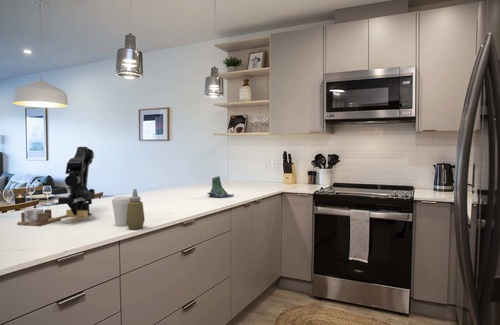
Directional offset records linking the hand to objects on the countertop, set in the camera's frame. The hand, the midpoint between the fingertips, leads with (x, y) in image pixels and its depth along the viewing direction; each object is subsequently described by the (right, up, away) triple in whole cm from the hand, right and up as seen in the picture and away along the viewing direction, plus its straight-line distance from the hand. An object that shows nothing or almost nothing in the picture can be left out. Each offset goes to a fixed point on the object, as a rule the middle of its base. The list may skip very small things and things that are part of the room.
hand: (77, 214), depth 172 cm
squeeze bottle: (+36, -4, -17) cm, 40 cm away
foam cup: (+27, -3, -10) cm, 29 cm away
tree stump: (+66, +1, +85) cm, 107 cm away
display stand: (-16, -3, -5) cm, 17 cm away
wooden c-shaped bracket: (-1, -1, -4) cm, 5 cm away
